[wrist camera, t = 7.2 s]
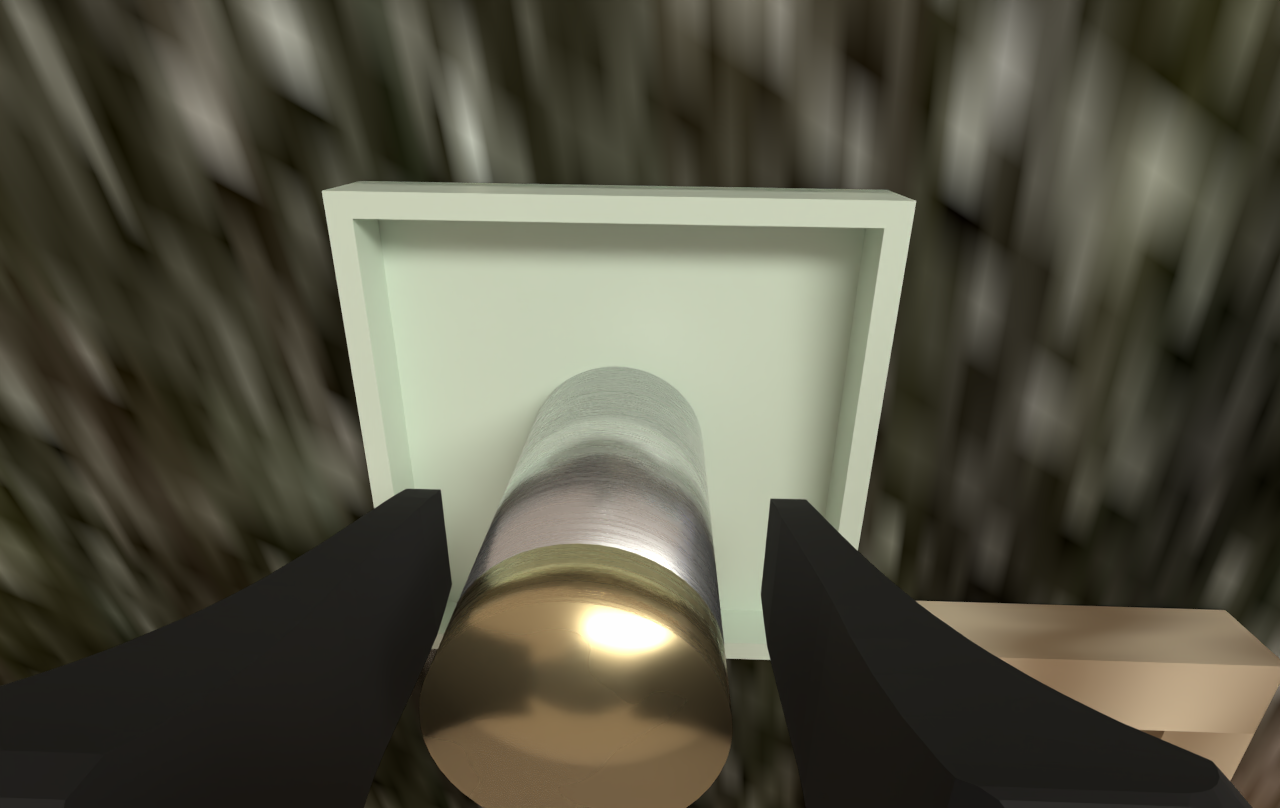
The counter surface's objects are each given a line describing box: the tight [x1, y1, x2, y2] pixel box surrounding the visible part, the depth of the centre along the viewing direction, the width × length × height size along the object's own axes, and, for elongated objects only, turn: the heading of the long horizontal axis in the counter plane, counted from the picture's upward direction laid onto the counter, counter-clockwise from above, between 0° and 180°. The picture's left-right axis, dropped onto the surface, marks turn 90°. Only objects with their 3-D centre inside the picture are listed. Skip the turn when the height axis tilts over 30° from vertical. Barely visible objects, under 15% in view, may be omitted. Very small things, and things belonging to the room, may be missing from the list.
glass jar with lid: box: [419, 366, 733, 808], centre depth 12 cm, size 4×4×8 cm
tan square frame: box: [916, 601, 1280, 781], centre depth 19 cm, size 10×10×2 cm
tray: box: [322, 181, 916, 660], centre depth 16 cm, size 11×11×2 cm
